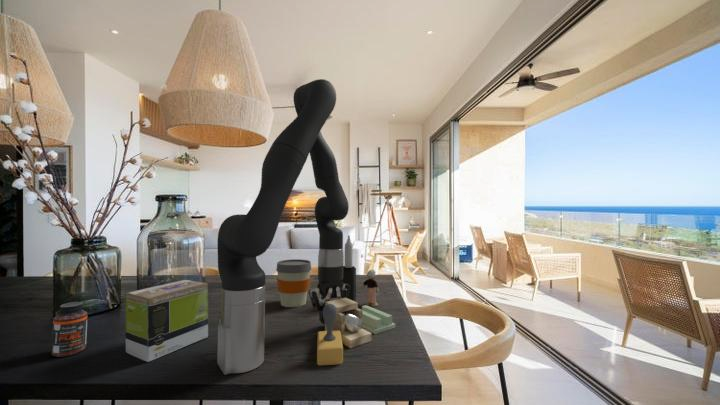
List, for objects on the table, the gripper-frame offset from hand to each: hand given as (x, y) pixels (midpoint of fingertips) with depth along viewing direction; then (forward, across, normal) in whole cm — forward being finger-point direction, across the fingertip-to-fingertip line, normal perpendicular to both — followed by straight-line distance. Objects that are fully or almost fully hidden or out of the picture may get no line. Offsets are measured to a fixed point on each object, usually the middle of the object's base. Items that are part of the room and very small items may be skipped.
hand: (330, 321), depth 88 cm
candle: (+2, -17, -14) cm, 22 cm away
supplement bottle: (+2, +58, -24) cm, 63 cm away
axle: (-3, 0, +5) cm, 6 cm away
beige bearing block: (+1, 0, +9) cm, 9 cm away
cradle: (+1, -11, +6) cm, 13 cm away
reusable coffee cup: (+2, -1, -26) cm, 26 cm away
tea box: (+2, +39, -14) cm, 42 cm away
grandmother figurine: (+2, -23, -8) cm, 24 cm away
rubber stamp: (+2, +9, +14) cm, 17 cm away
